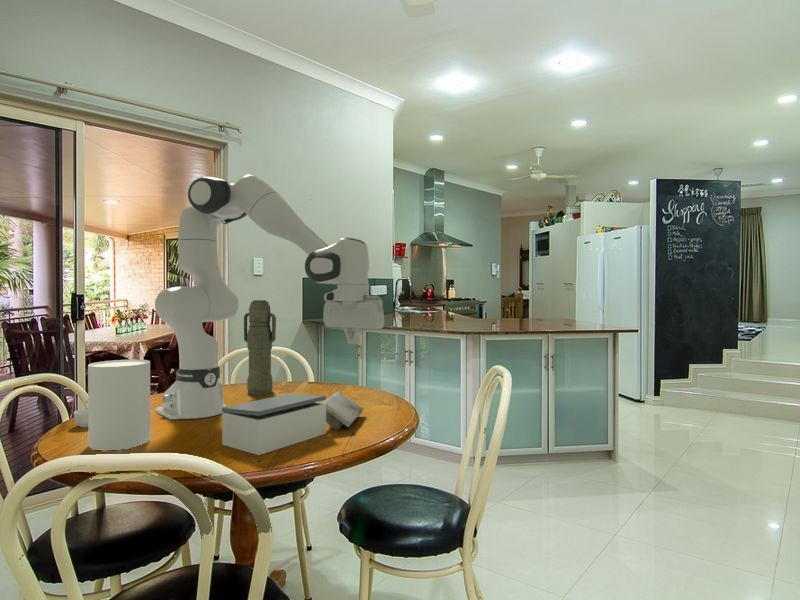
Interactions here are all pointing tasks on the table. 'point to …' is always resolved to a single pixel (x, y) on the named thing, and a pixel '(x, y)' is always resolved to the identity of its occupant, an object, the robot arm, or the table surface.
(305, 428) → the storage box
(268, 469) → the table surface
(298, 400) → the lid
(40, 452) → the table surface
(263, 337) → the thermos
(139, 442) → the canister
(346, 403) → the packaged product
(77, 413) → the teacup
